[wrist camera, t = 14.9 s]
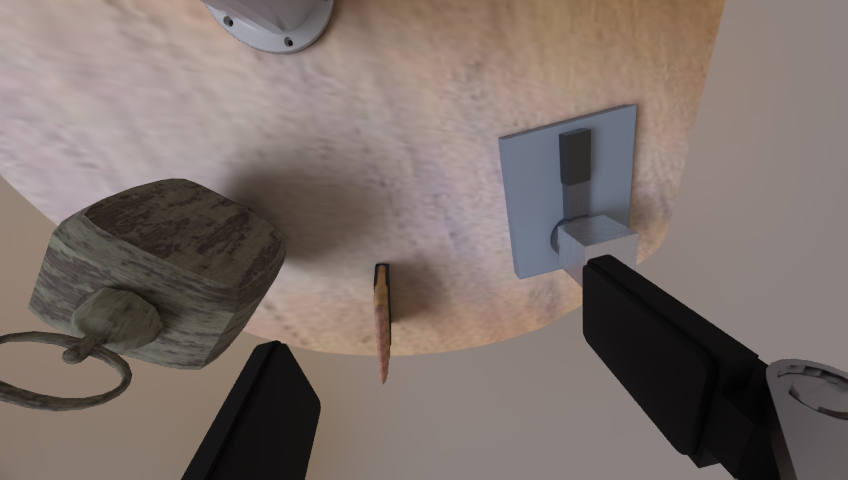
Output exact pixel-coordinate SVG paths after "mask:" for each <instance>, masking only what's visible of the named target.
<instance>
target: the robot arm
mask: <svg viewBox="0 0 848 480" xmlns="http://www.w3.org/2000/svg"><path fill="white" fill-rule="evenodd" d="M200 1H202V2H204V3H205V5H206V7H207V8H208V10H209V11H210V12H211V14H212V15H213V16H214V18H215V19H216V20H217V21H218V22H219V23H220V24H221V26H222V27H223V28H224V29H225V30H226V31H227V32H229V33H230V34H231V35H233V36H234V37H235V38H237V39H238V40H239V41H241V42H243V43H245V44H247V45H248V46H250V47H252V48H255V49H257V50H260V51H263V52H268V53H272V54H289V53H294V52H298V51H300V50H302V49H304V48H307V47H308V46H310V45H311V44H312V43H313V42H315V41H316V40H317V39H318V38H319V36H320V35H321V34H322V33H323V31H324V30H325V28H326V26H327V24H328V22H329V20H330V18H331V15H332V11H333V7H334V1H335V0H327V1H325V0H200ZM231 21H233V26H231ZM289 41H292V42H293V45H292V46H290V45H289ZM582 284H583V334H584V337H585V339H586V341H587V343H588V344H589V345H590V346H591V347H592V349H593V350H594V351H595V352H596V353H597V355H598V356H599V357H600V358H601V359H602V361H603V362H604V363H605V364H606V366H607V367H608V368H609V369H610V370H611V372H612V373H613V374H614V375H615V377H616V378H617V379H618V380H619V381H620V383H621V384H622V385H623V386H624V387H625V389H626V390H627V391H628V392H629V394H630V395H631V396H632V397H633V398H634V400H635V401H636V402H637V403H638V405H639V406H641V408H642V409H643V411H644V412H645V413H646V414H647V415H648V417H649V418H650V419H651V420H652V421H653V423H654V424H655V425H656V426H657V427H658V429H659V430H660V431H661V432H662V434H663V435H664V436H665V437H666V438H667V440H668V441H669V442H670V443H671V445H672V446H673V447H674V448H675V449H676V450H677V451H678V452H679V453H681V454H683V455H688V456H689V457H690V459H691V460H692V461H693V462H694V463H695V464H696V466H697V467H698V468H702V467H706V466H710V465H714V464H718V463H721V464H722V465H723V467H724V468H725V469H726V470H727V471H728V472H729V473H730V474H731V475H732V476H733V478H734V480H848V373H847V372H844V371H841V370H839V369H836V368H834V367H831V366H828V365H825V364H821V363H817V362H813V361H808V360H799V359H782V360H778V361H776V362H773V363H771V364H770V365H767V364H766V363H764V362H763V361H761V360H760V359H758V356H759V355H757V354H756V353H754V352H753V351H751V350H750V349H748V348H747V347H745V346H744V345H743V344H741V343H740V342H738V341H737V340H735V339H734V338H732V337H731V336H729V335H728V334H726V333H725V332H724V331H722V330H721V329H719V328H718V327H716V326H715V325H713V324H712V323H710V322H709V321H707V320H706V319H704V318H703V317H702V316H700V315H699V314H697V313H696V312H694V311H693V310H691V309H690V308H688V307H687V306H685V305H684V304H682V303H681V302H680V301H678V300H677V299H675V298H674V297H672V296H671V295H669V294H668V293H666V292H665V291H663V290H662V289H661V288H659V287H658V286H656V285H655V284H653V283H652V282H650V281H649V280H647V279H646V278H644V277H643V276H642V275H640V274H639V273H637V272H636V271H634V270H633V269H631V268H630V267H628V266H627V265H625V264H624V263H622V262H621V261H620V260H618V259H617V258H615V257H614V256H612V255H610V254H606V255H603V256H599V257H595V258H591V259H589V260H588V261H587V265H584V266H583V269H582ZM320 410H321V406H320V400H319V398H318V397H317V395H316V393H315V392H314V390H313V388H312V386H311V385H310V383H309V381H308V380H307V378H306V376H305V375H304V373H303V371H302V369H301V368H300V366H299V364H298V363H297V361H296V359H295V358H294V356H293V354H292V353H291V351H290V349H289V347H288V346H287V345H286V344H282V343H281V342H280V341H278V340H275V341H272V342H268V343H264V344H260V345H258V346H256V348H255V349H254V350H253V352H252V354H251V355H250V357H249V359H248V361H247V363H246V365H245V366H244V368H243V370H242V372H241V373H240V375H239V377H238V379H237V380H236V382H235V384H234V386H233V388H232V389H231V391H230V393H229V395H228V396H227V399H226V400H225V402H224V404H223V405H222V407H221V409H220V411H219V413H218V414H217V416H216V418H215V420H214V421H213V423H212V425H211V427H210V429H209V430H208V432H207V434H206V436H205V438H204V439H203V441H202V443H201V445H200V446H199V448H198V450H197V452H196V454H195V455H194V457H193V459H192V461H191V462H190V464H189V466H188V468H187V470H186V472H185V473H184V475H183V477H182V479H181V480H305V476H306V472H307V467H308V463H309V459H310V454H311V450H312V446H313V441H314V437H315V432H316V428H317V424H318V419H319V415H320Z"/></svg>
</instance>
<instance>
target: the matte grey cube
mask: <svg viewBox="0 0 848 480" xmlns="http://www.w3.org/2000/svg"><path fill="white" fill-rule="evenodd" d="M638 235H639V233H638V232H636V231H634V230H632V229H630V228H628V227H626V226H624V225H622V224H620V223H618V222H617V221H615V220H613V219H611V218H609V217H607V216H605V215H600V216H596V217H592V218H588V219H585V220H581V221H577V222H573V223H569V224H566V225H562V226H558V244H559V264H560V267H561V268H562V269H563V270H564V271H565V272H567V273H568V274H569V275H570V276H571V277H572V278H573V279H574V280H575V281H576V282H577V283H578V284H579V285H580V286H581V287H582V288H583V284H582V269H583V266H584V265H587V261H588V260H589V259H591V258H595V257H599V256H603V255H606V254H610V255H612V256H614V257H615V258H617V259H618V260H620V261H621V262H622V263H624V264H625V265H627V266H628V267H630V268H631V269H633V270H634V271H636V260H637V247H638Z"/></svg>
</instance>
